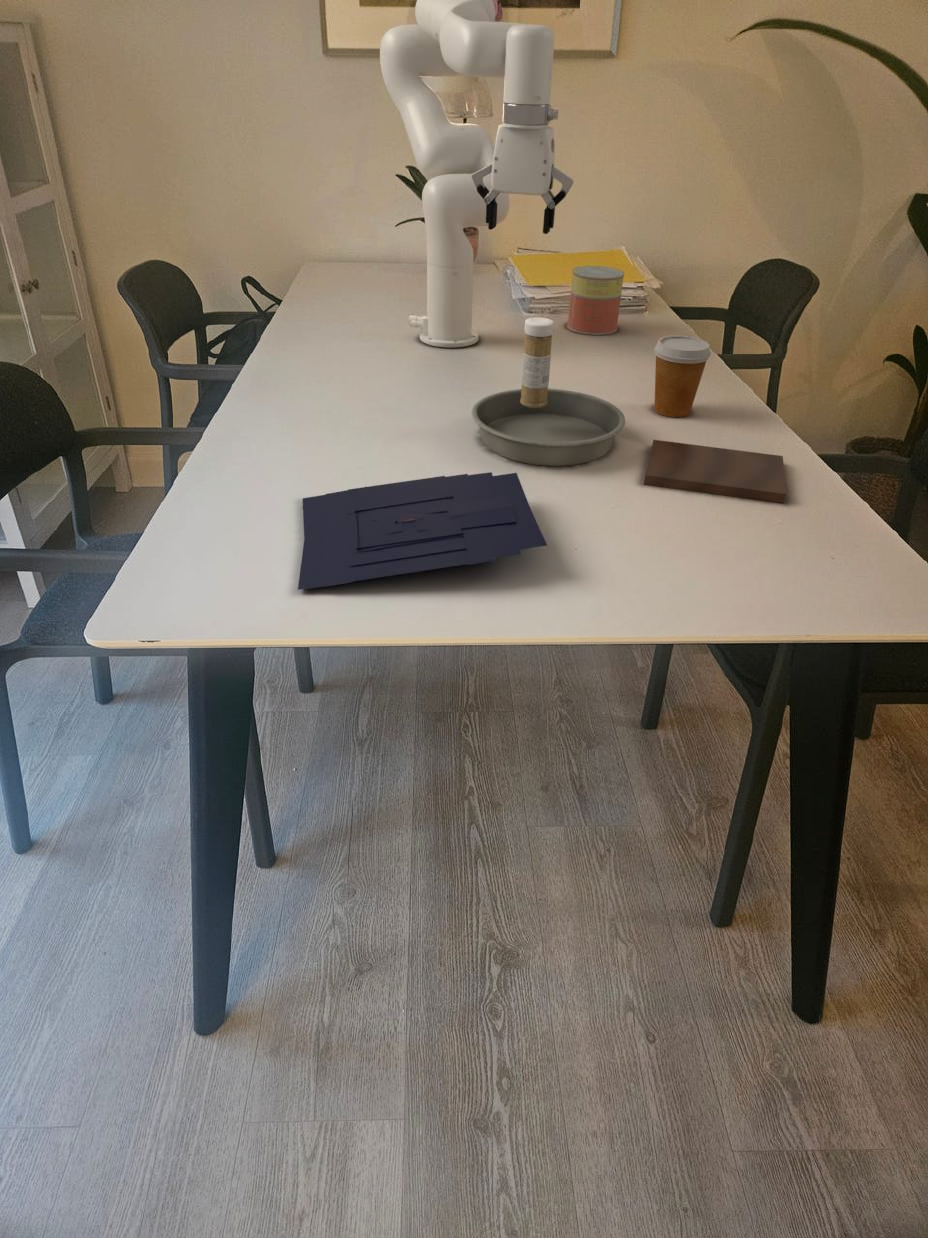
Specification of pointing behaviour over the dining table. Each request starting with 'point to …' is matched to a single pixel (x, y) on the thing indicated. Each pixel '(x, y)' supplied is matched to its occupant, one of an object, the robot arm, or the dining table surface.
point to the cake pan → (548, 427)
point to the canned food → (595, 300)
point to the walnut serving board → (716, 471)
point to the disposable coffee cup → (678, 373)
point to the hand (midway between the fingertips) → (519, 230)
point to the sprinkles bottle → (536, 361)
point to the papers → (414, 527)
